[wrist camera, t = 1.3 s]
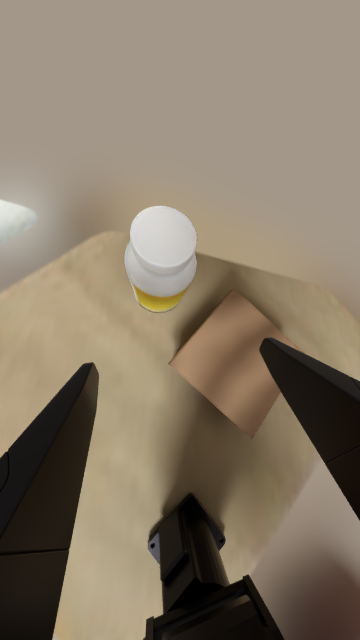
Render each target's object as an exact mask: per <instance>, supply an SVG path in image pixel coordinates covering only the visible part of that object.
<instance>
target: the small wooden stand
mask: <svg viewBox="0 0 360 640" xmlns="http://www.w3.org/2000/svg"><path fill="white" fill-rule="evenodd" d="M268 337H272V338H274V339H276V340H278V341H280V342H282V343H284V344H286V345H288V346H290V347H292V348H294V349H296V350H298V351H300V352H302V353H304V352H303V351H302V350H300V349H299V348H298V347H297V346H296V345H295V344H294V343H293V342H292V341H291V340H290V339H289V338H287V337H286V336H285V335H284V334H283V333H282V332H281V331H280V330H279V329H278V328H277V327H276V326H275V325H273V324H272V323H271V322H270V321H269V320H268V319H267V318H266V317H265V316H264V315H263V314H262V313H261V312H259V311H258V310H257V309H256V308H255V307H254V306H253V305H252V304H251V303H250V302H249V301H248V300H246V299H245V298H244V297H243V296H242V295H241V294H240V293H239V292H238V291H237V290H236V289H235V288H234V289H232V290H231V291H229V293H228V294H227V295H226V296H225V297H224V298H223V300H222V301H221V302H220V303H219V304H218V305H217V307H216V308H215V309H214V310H213V311H212V313H211V314H210V315H209V316H208V317H207V318H206V320H205V321H204V322H203V323H202V324H201V325H200V327H199V328H198V329H197V330H196V331H195V332H194V334H193V335H192V336H191V337H190V338H189V340H188V341H187V342H186V343H185V344H184V345H183V347H182V348H181V349H180V350H179V351H178V352H177V354H176V355H175V356H174V357H173V358H172V359H171V361H170V362H169V363H168V364H169V365H170V366H171V367H172V368H174V369H175V370H176V371H177V372H178V373H179V374H180V375H181V376H182V377H184V378H185V379H186V380H187V381H188V382H189V383H190V384H191V385H192V386H194V387H195V388H196V389H197V390H198V391H199V392H200V393H201V394H202V395H203V396H205V397H206V398H207V399H208V400H209V401H210V402H211V403H212V404H213V405H215V406H216V407H217V408H218V409H219V410H220V411H221V412H222V413H223V414H225V415H226V416H227V417H228V418H229V419H230V420H231V421H232V422H233V423H235V424H236V425H237V426H238V427H239V428H240V429H241V430H242V431H243V432H245V433H246V434H247V435H248V436H249V437H250V438H251V439H252V438H253V436H254V435H255V433H256V431H257V430H258V428H259V426H260V425H261V423H262V422H263V420H264V418H265V417H266V415H267V413H268V412H269V410H270V409H271V407H272V405H273V404H274V402H275V400H276V399H277V397H278V396H279V394H280V392H281V391H280V389H279V388H278V386H277V384H276V383H275V381H274V379H273V378H272V376H271V374H270V372H269V370H268V368H267V366H266V364H265V362H264V360H263V358H262V356H261V354H260V351H259V347H260V345H261V343H262V341H263V339H264V338H268Z"/></svg>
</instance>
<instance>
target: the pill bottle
mask: <svg viewBox="0 0 360 640" xmlns="http://www.w3.org/2000/svg"><path fill="white" fill-rule="evenodd" d="M130 238H131V240H130V242H129V243H128V245H127V248H126V251H125V258H124V259H125V267H126V271H127V274H128V277H129V280H130V283H131V286H132V289H133V292H134V295H135V298H136V300H137V302H138V303H139V304H140V305H141V306H142V307H143V308H144V309H146V310H148V311H150V312H153V313H164V312H167V311H170V310H172V309H173V308H174V307H175V306H176V305H177V304H178V303H179V301H180V300H181V298H182V296H183V295H184V293H185V292H186V290H187V288H188V287H189V285H190V283H191V282H192V280H193V278H194V276H195V273H196V267H197V261H196V255H195V249H196V245H197V234H196V231H195V228H194V226H193V224H192V222H191V221H190V220H189V219H188V218H187V217H186V216H185V215H184V214H183V213H181V212H180V211H178V210H176V209H173V208H170V207H167V206H153V207H149V208H147V209H144V210H143V211H141V212H140V213H139V214H138V215H137V216H136V217H135V219H134V220H133V222H132V225H131V229H130Z"/></svg>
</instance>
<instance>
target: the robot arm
mask: <svg viewBox="0 0 360 640" xmlns="http://www.w3.org/2000/svg"><path fill="white" fill-rule="evenodd" d="M259 351H260V354H261V356H262V358H263V360H264V362H265V364H266V366H267V368H268V370H269V372H270V374H271V376H272V378H273V379H274V381H275V383H276V384H277V386H278V388H279V389H280V391H281V393H282V394H283V396H284V397H285V399H286V401H287V402H288V404H289V406H290V407H291V409H292V411H293V412H294V414H295V415H296V417H297V419H298V420H299V422H300V424H301V425H302V427H303V429H304V430H305V432H306V433H307V435H308V437H309V438H310V440H311V442H312V443H313V445H314V447H315V448H316V450H317V451H318V453H319V455H320V456H321V458H322V460H323V461H324V463H325V465H326V466H327V468H328V469H329V471H330V473H331V475H332V476H333V478H334V479H335V481H336V483H337V484H338V486H339V488H340V489H341V491H342V493H343V494H344V496H345V497H346V499H347V501H348V502H349V504H350V506H351V507H352V509H353V511H354V512H355V514H356V515H357V517H358V519H359V520H360V381H358V380H356V379H354V378H352V377H349V376H348V375H346V374H344V373H342V372H340V371H338V370H336V369H334V368H332V367H330V366H328V365H326V364H324V363H322V362H320V361H318V360H316V359H314V358H312V357H310V356H308V355H306V354H304V353H302V352H300V351H298V350H296V349H294V348H292V347H290V346H288V345H286V344H284V343H282V342H280V341H278V340H276V339H274V338H272V337H268V338H264V339H263V341H262V343H261V345H260V347H259ZM98 383H99V373H98V371H97V369H96V366H95V364H94V363H93V362H91V363H85V364H83V365H82V366H81V367H80V368H79V369H78V370H77V372H76V373H75V374H74V375H73V376H72V377H71V378H70V379H69V381H68V382H67V383H66V384H65V385H64V386H63V387H62V389H61V390H60V391H59V392H58V393H57V394H56V395H55V397H54V398H53V399H52V400H51V401H50V402H49V403H48V405H47V406H46V407H45V408H44V409H43V410H42V411H41V412H40V414H39V415H38V416H37V417H36V418H35V419H34V420H33V422H32V423H31V424H30V425H29V426H28V427H27V428H26V430H25V431H24V432H23V433H22V434H21V435H20V436H19V437H18V439H17V440H16V441H15V442H14V443H13V444H12V445H11V447H10V448H9V449H8V451H7V452H5V453H4V454H3V456H2V457H1V458H0V640H52V638H53V633H54V628H55V622H56V617H57V612H58V607H59V602H60V597H61V591H62V586H63V581H64V576H65V571H66V565H67V560H68V555H69V548H70V544H71V539H72V534H73V529H74V524H75V518H76V513H77V508H78V503H79V498H80V493H81V487H82V482H83V477H84V472H85V467H86V462H87V456H88V451H89V446H90V441H91V436H92V431H93V425H94V420H95V415H96V408H97V396H98ZM191 499H193V500H192V501H190V500H191ZM225 541H226V540H225V536H224V534H223V532H222V531H221V530H220V528H219V527H218V526H217V524H216V523H215V522H214V520H213V519H212V518H211V516H210V515H209V514H208V513H207V511H206V510H205V509H204V507H203V506H202V505H201V503H200V502H199V501H198V499H197V498H196V497H195V495H194V494H192V493H191V494H189V495H188V496H187V497H186V498H185V499H184V500H183V501H182V502H181V503H180V505H179V506H178V507H177V508H176V509H175V510H174V511H173V512H172V513H171V514H170V516H169V517H168V518H167V519H166V520H165V521H164V522H163V523H162V524H161V526H160V527H159V528H158V529H157V530H156V531H155V532H154V534H153V535H152V536H151V537H150V538H149V540H148V549H149V551H150V552H151V554H152V555H153V556H154V558H155V559H156V560H157V562H158V563H159V564H160V579H161V582H162V599H163V615H161V616H158V617H156V618H154V616H153V617H150V618H148V619H147V620H146V637H145V638H143V640H284V638H283V636H282V634H281V632H280V630H279V628H278V627H277V625H276V623H275V621H274V619H273V618H272V616H271V614H270V612H269V610H268V608H267V607H266V605H265V603H264V601H263V600H262V598H261V596H260V594H259V592H258V591H257V589H256V587H255V585H254V583H253V582H252V580H251V578H250V576H249V575H246V576H243V579H242V580H239V581H237V582H235V583H233V584H229V581H228V578H227V575H226V572H225V569H224V565H223V562H222V559H221V556H220V553H219V550H220V549H221V548H222V547H223V545H224V544H225ZM152 543H154V544H152Z"/></svg>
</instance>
